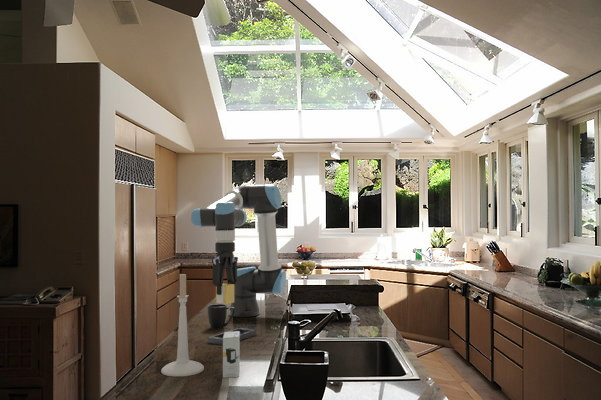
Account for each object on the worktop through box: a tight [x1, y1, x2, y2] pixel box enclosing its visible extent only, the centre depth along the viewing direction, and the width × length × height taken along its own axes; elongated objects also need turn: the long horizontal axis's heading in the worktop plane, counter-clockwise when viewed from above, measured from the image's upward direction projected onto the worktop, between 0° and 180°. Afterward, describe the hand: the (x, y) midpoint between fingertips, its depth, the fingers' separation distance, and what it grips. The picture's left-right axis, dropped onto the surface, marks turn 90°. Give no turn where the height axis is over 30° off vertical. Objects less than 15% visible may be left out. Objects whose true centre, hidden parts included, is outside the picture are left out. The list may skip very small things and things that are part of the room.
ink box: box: [222, 331, 241, 378], centre depth 155 cm, size 9×5×12 cm, turn 5°
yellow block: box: [215, 283, 234, 305], centre depth 197 cm, size 5×5×7 cm
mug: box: [207, 303, 235, 330], centre depth 222 cm, size 8×12×10 cm
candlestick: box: [160, 273, 205, 377], centre depth 159 cm, size 13×13×30 cm
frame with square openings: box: [207, 327, 257, 346], centre depth 201 cm, size 20×8×2 cm, turn 150°
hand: (225, 302), depth 197 cm, fingers closed on yellow block, 5 cm apart
